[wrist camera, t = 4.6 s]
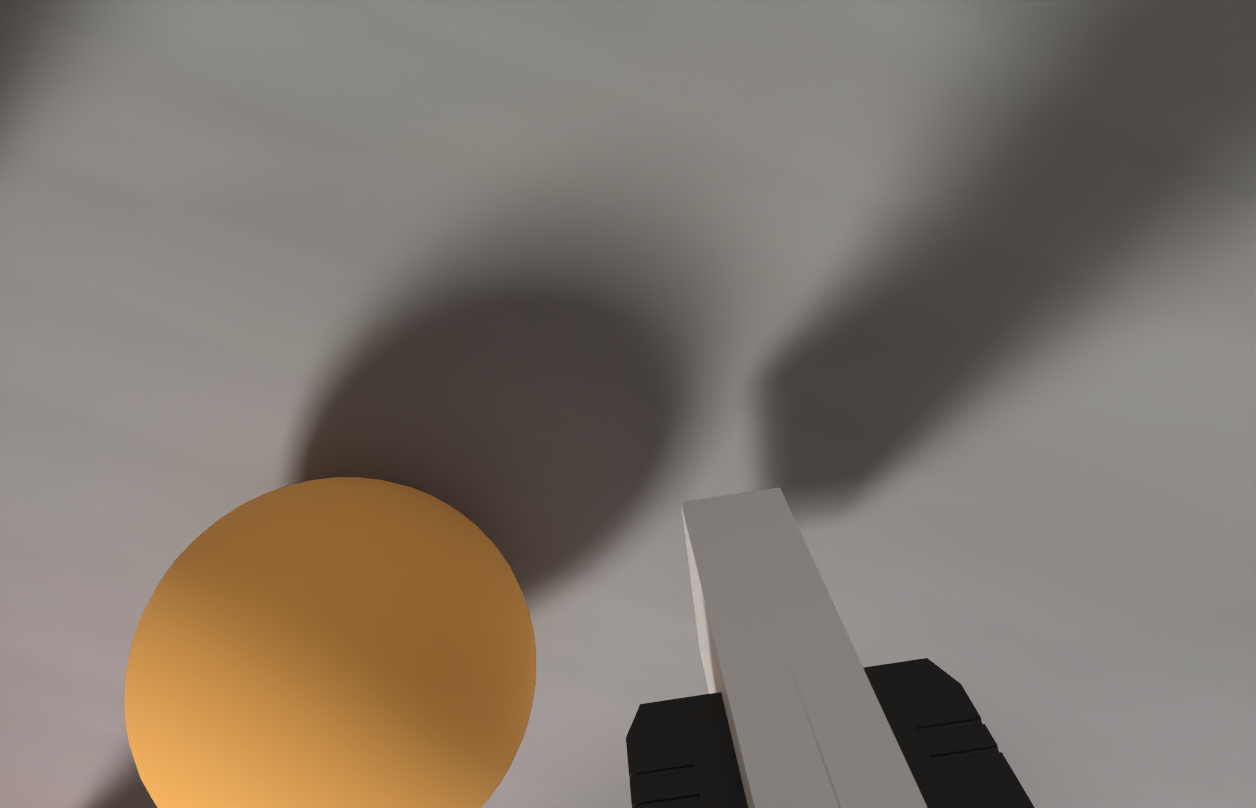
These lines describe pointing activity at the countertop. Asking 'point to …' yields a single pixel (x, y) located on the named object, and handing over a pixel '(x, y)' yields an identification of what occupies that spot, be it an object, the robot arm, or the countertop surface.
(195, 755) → the ball
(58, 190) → the countertop surface
